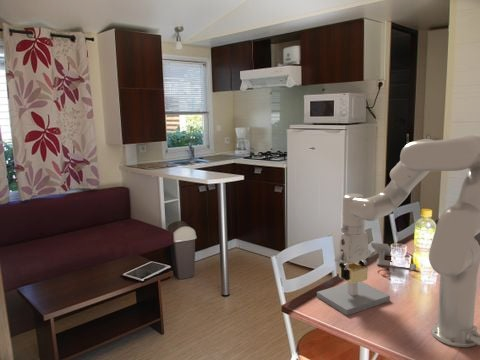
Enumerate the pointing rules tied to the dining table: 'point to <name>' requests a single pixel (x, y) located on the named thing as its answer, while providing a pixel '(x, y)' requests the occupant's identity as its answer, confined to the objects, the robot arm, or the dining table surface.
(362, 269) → the collar
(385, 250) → the door handle
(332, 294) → the post stand
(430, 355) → the dining table surface
